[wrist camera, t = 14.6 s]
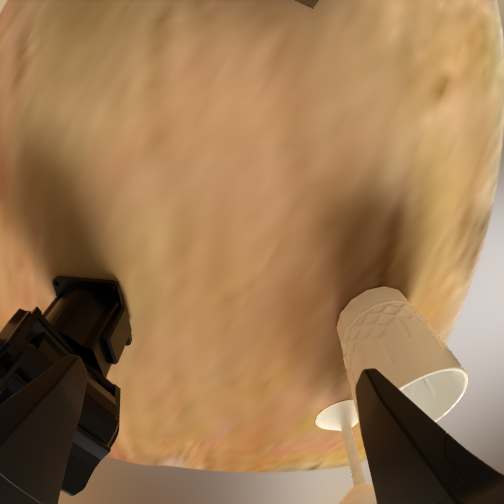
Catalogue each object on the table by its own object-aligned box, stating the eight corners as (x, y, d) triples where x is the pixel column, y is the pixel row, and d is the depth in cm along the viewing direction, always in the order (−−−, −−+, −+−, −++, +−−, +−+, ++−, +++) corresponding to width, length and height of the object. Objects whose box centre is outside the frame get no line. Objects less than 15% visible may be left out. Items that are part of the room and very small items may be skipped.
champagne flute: (344, 393, 29) (391, 600, 7) (380, 405, 30) (430, 579, 9) (303, 423, 31) (327, 609, 9) (341, 433, 33) (373, 594, 11)
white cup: (339, 279, 22) (386, 379, 13) (423, 279, 22) (487, 358, 13) (321, 353, 26) (345, 449, 17) (397, 348, 26) (436, 429, 17)
